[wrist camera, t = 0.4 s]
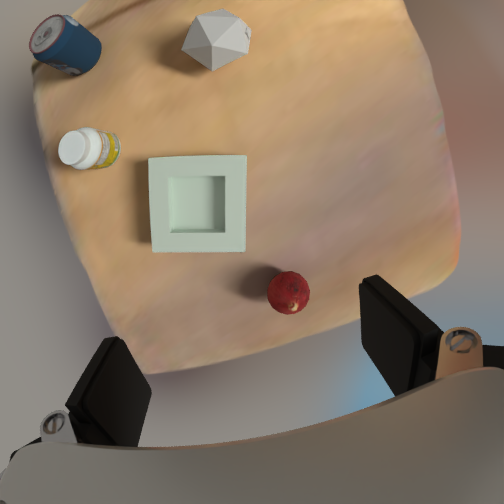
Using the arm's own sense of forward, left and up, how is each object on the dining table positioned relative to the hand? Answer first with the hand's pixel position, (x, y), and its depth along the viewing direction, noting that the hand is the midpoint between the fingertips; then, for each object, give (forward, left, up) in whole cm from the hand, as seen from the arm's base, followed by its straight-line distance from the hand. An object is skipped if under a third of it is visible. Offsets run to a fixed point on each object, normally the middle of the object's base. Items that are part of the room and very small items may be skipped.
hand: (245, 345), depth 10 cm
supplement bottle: (-10, -19, -30) cm, 36 cm away
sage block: (-2, -5, -29) cm, 30 cm away
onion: (+10, +7, -30) cm, 32 cm away
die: (-24, -3, -30) cm, 38 cm away
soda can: (-26, -24, -30) cm, 46 cm away
